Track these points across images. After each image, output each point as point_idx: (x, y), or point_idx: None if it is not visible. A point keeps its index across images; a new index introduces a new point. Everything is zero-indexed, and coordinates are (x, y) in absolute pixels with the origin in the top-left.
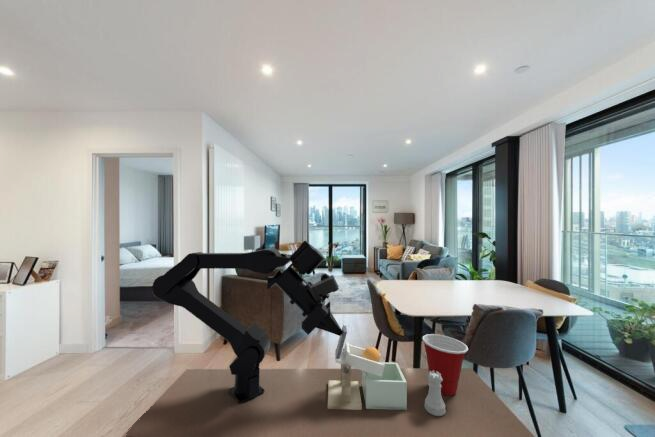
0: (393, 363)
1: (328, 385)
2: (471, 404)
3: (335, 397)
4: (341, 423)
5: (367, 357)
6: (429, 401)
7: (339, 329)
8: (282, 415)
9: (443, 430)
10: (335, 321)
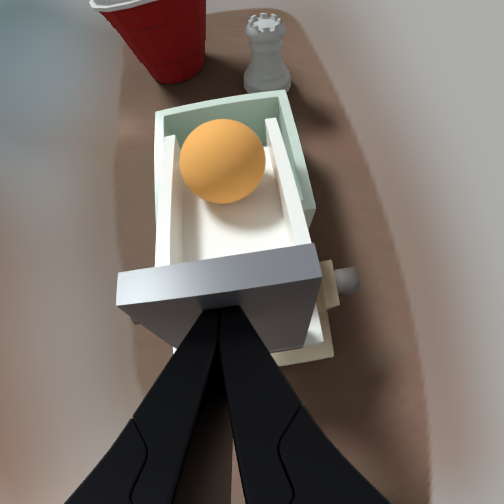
0: (161, 121)
1: None
2: (230, 36)
3: None
4: (382, 303)
5: (260, 173)
6: (279, 78)
7: (256, 336)
8: (377, 463)
9: (330, 85)
10: (197, 407)
